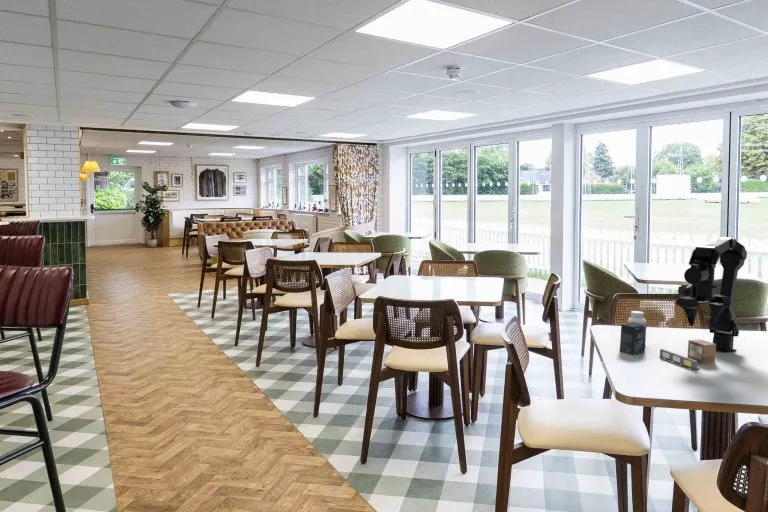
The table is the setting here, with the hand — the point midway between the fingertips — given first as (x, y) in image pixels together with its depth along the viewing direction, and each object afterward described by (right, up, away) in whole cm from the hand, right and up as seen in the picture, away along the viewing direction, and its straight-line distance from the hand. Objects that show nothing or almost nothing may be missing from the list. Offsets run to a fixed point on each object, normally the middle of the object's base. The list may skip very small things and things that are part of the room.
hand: (701, 324), depth 202 cm
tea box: (0, -13, 0) cm, 13 cm away
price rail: (-10, -13, -3) cm, 17 cm away
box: (-19, -12, +12) cm, 26 cm away
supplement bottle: (-13, -11, +23) cm, 29 cm away
